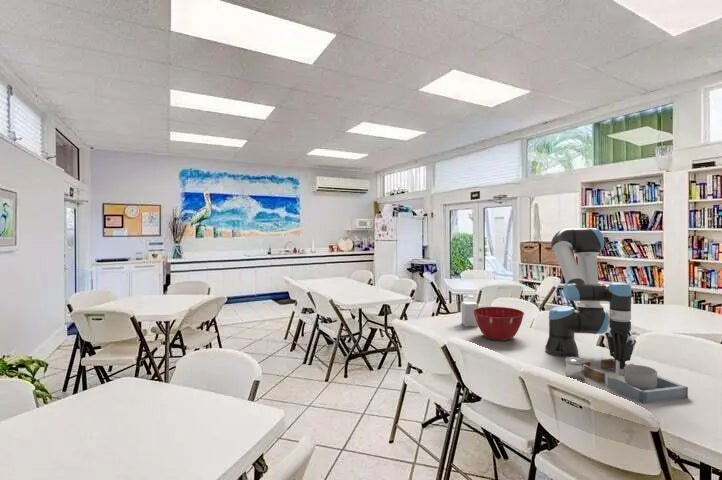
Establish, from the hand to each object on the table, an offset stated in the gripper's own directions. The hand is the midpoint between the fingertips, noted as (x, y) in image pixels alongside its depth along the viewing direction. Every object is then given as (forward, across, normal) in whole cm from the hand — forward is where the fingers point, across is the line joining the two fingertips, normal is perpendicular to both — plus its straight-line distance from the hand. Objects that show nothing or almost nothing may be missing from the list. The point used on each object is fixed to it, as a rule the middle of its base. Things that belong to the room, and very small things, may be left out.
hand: (619, 375), depth 161 cm
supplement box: (+2, -101, -16) cm, 102 cm away
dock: (+2, +11, 0) cm, 11 cm away
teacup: (+2, +7, +2) cm, 8 cm away
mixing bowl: (+2, -70, -14) cm, 71 cm away
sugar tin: (+2, -7, -16) cm, 17 cm away
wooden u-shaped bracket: (+2, -7, 0) cm, 7 cm away
